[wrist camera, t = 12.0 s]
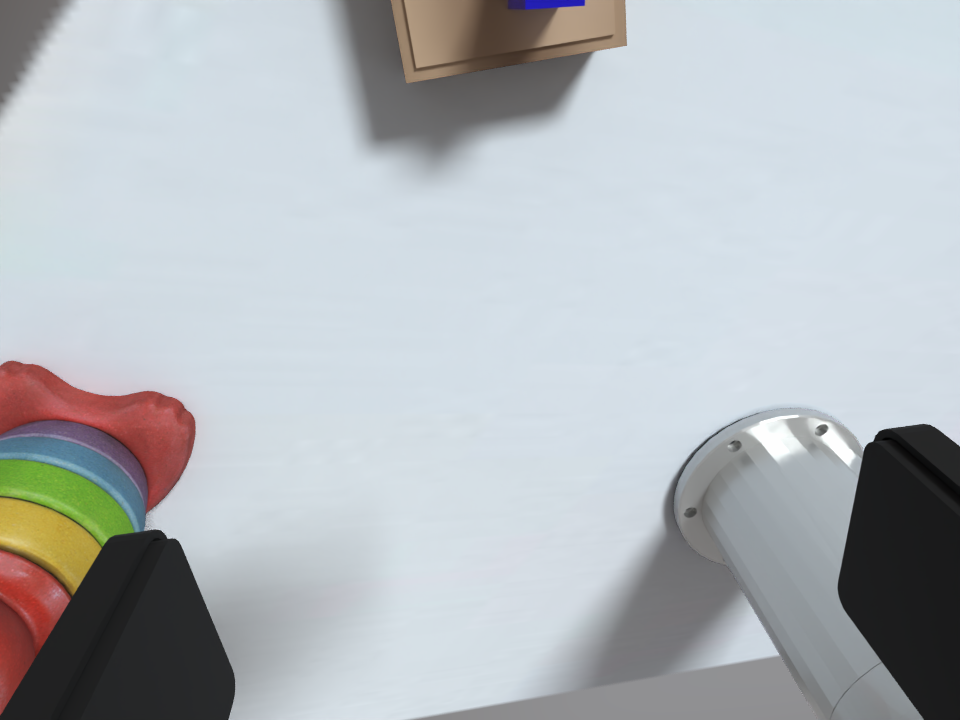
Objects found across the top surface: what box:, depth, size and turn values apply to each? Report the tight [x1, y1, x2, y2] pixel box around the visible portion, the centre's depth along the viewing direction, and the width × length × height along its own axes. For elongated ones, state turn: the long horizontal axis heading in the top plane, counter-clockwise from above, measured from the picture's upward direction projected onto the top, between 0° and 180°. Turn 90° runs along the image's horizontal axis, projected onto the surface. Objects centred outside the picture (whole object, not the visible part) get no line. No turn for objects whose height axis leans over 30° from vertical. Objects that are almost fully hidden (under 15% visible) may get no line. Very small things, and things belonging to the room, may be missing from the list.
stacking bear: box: [0, 361, 195, 715], centre depth 30 cm, size 11×10×18 cm
